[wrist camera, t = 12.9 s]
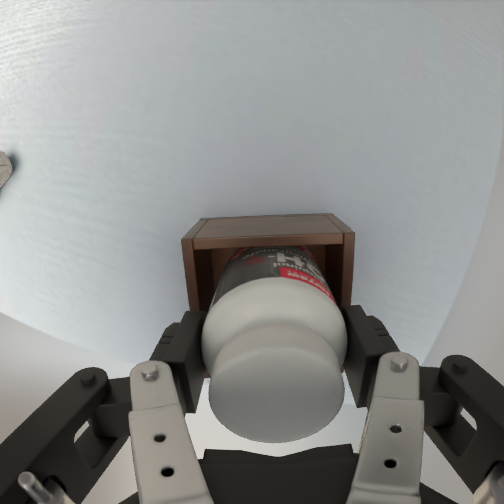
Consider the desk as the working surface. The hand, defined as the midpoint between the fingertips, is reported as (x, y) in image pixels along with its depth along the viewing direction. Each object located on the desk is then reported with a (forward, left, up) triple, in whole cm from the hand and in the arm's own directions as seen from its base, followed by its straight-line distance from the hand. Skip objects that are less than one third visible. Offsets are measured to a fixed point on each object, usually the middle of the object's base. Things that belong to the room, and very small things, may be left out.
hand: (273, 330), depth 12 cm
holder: (0, 0, -6) cm, 6 cm away
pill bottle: (0, 0, -6) cm, 6 cm away
